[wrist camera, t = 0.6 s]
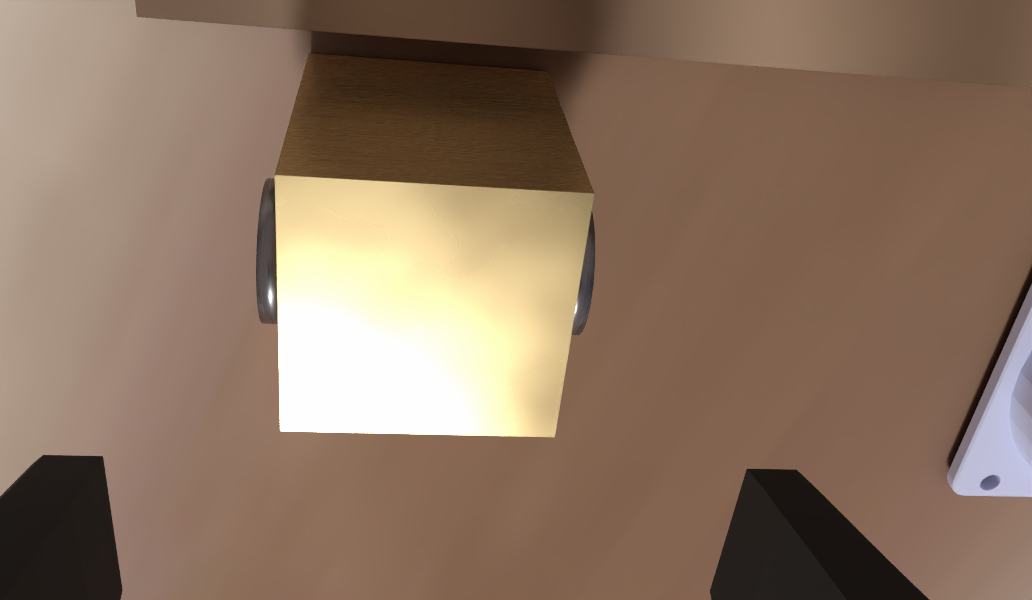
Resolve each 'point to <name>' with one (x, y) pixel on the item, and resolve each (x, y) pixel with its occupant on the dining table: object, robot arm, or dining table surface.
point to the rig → (685, 30)
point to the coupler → (425, 250)
